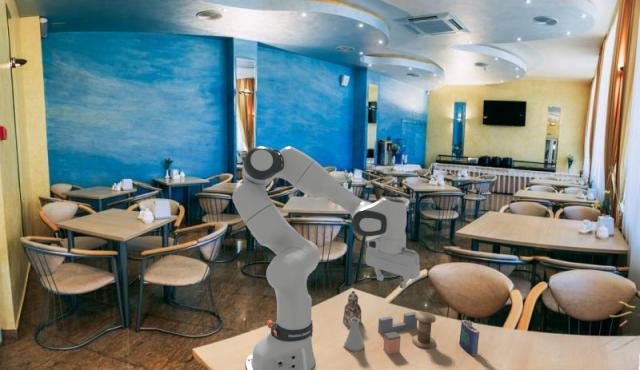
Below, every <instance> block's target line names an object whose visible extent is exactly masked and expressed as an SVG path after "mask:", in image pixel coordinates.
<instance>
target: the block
mask: <svg viewBox="0 0 640 370" xmlns="http://www.w3.org/2000/svg"><path fill="white" fill-rule="evenodd" d="M383 335H384V336H383V351H384V352H385V353H386V354H387V355H393V354H398V353H401V352H400V350H401V337H402V336H401V335H400V334H399V333H398V331H395V332H389V333H384V334H383Z"/></svg>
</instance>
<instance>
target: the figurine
mask: <svg viewBox="0 0 640 370" xmlns="http://www.w3.org/2000/svg"><path fill="white" fill-rule="evenodd" d="M342 318H343V319H342V322H343V323H344V324H345V325H346V326H348V327H351V319H352V318H358V319H360V321H359V326H360V325H361V323H362V310H361V306H360V304H359V296H358V294H356V293H355V291H354V290H352V291H351V293H350V294H349V295H348V297H347V303H346V304H345V306H344V311H343V317H342Z"/></svg>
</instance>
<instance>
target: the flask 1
mask: <svg viewBox="0 0 640 370" xmlns="http://www.w3.org/2000/svg"><path fill="white" fill-rule="evenodd" d="M359 321H360V319H358V318H352V319H351V326H350V328H349V332H348V334H347V336H346V339H345V341H344V345H343V348H344V349H346V350H348V351H352V352H360V351H362V350H364V349H365V343H364V340H363V337H362V333H361V330H360V325H359Z"/></svg>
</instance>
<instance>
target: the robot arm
mask: <svg viewBox="0 0 640 370" xmlns="http://www.w3.org/2000/svg"><path fill="white" fill-rule="evenodd" d="M241 179H242V183H240V184H239V185H238V186H237V187H236V188H235V189H234V191H233V192H232V195H231V196H232V202H233V204H234V206H235V208H236V211H237V213H238V214H239V216H240V218H241V219H242V221H243V222H244V224H245V226H246V227H247V228H248V230H249V231H250V233H251V234H252V236H253V237H254V238H255V240H256V241H257V243H258V244H259V245H261V246H263V247H266V248H268V249H269V250H271V251H272V252H273V253H274V254H275V255H276V256H274V257H273V259H272V260H271V261H270V263H269V264H268V266H267V268H266V271H265V277H266V279H267V282H268V284H269V285H270V286H271V287H272V288H273V290H274V293H275V297H276V321H275V322H273V320H272V319H268V320H267V321H266V326H267V327H268V328H269V329H270V332H269V333H267V335H265V336H264V337H263V338H262V339H260V340H259V341H258V342H256V343H255V345H254V347H253V352H252V354H250V355H248V356H247V357H246V359H245V369H246V370H312V369H313V368H314V367H315V364H316V357H315V354H314V350H313V349H314V348H313V343H312V340H313V339H312V337H313V333H314V326H313V320H312V309H313V308H312V306H313V305H312V304H313V303H312V302H313V301H312V300H313V298H312V297H311V295H310V294H309V292H308V287H307V280H308V277H309V275H311V273H313V271H315V270H316V268H317V266H318V264H319V263H320V259H321V252H320V248H319V247H318V245H317V244H316V243H315V242H313V241H312V240H308V239H306V238H305V237H304V236H302V235H301V234H300V233H299V232H298V231H297V230H296V229H295V228H294V227H293V226H292V225H290V223H289V222H288V221H287V220H286V218H285V217H284V216H283V214H282V212H280V210H279V208H278V207H277V206H276V204H275V203H274V202H273V201H272V199H271V198H270V196H269V194H268V192H267V188H269V186H270V185H271V184H272V182H273V180H274V179H282V180H285V181H287V182H288V183H289V184H290V185H292V186H293V187H295V188H296V189H297V190H298V191H299V192H301V193H303V194H305V195H307V196H309V197H312V198H318V197H319V198H326V199H328V200H330V201H332V202H334V203H335V204H336V205H338V206H340V208H341V209H344V210H345V211H346V212H348V213H349V215H350V216H351V217H352V219H351V227H352V229H353V231H354V232H355V233H356V234H357V235H359V236H362V237H373V236H377V237H375V238H372V239H369V240H367V241H366V246H367V247H366V251H365V264H366V266H369V267H372V268H373V269H374V272H375V275H376V280H377V281H378V282H379V281H380V282H383V281H384V275H383V274H382V271H384V272H387V273H390V274H393V275H394V274H395V275H397V276H400V277H402V281H401V282H399V288H400V289H402V290H405V289H406V288H407V284H408V282H409V281H410V279H411V280H415V279H417V278H419V277H420V276H421V267H420V266H421V265H420V254H419V253H418V252H417V251H416V250H414V249H409V248H407V247H406V245H407V233H406V227H407V222H408V220H407V215H408V214H407V206H406V203H405V202H404V201H403V200H402V199H401V198H398V197H394V196H387V195H386V196H383V197H382V198H380V199H379V200H377V201H375V202H374V201H372V200H368V199H365V198H361V197H359V196H357V195H356V194H355V193H353V192H351V191H350V190H348V189H347V188H346V187H344V186H343V185H342V184H340V183H339V181H337V180H336V179H335V178H334V177H333V176H332V175H331V174H330V172H328V171H327V170H326V169H325V168H324V166H322V165H321V164H320V163H319V162H318V161H316V160H315V159H314V158H312V157H310V156H309V155H307V154H306V153H305V152H303V151H300V149H297V148H295V147H294V146H285V147H283V148H281V149H280V150H278V149H274V148H270V147H267V146H255V147H253V148H251V149H250V150H249V151H248V152H247V153H246V155H245V156H244V159H243V163H242V166H241ZM378 236H379V237H378ZM381 270H382V271H381Z"/></svg>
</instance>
